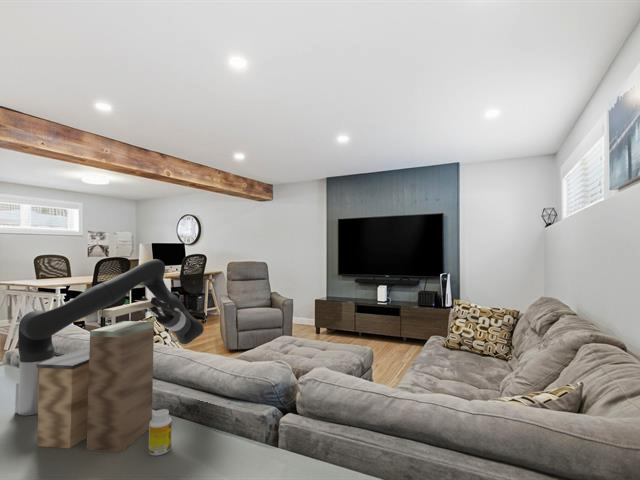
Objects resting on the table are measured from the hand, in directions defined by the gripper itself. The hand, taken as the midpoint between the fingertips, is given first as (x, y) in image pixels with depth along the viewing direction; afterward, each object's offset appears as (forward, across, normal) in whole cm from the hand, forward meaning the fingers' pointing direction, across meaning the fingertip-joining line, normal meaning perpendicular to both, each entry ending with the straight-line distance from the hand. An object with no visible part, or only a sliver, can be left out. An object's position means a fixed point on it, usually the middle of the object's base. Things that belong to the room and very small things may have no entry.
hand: (147, 299), depth 114 cm
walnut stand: (-10, 0, +39) cm, 40 cm away
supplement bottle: (-5, +15, +41) cm, 44 cm away
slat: (+5, 0, +6) cm, 7 cm away
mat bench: (-10, -15, +38) cm, 42 cm away
